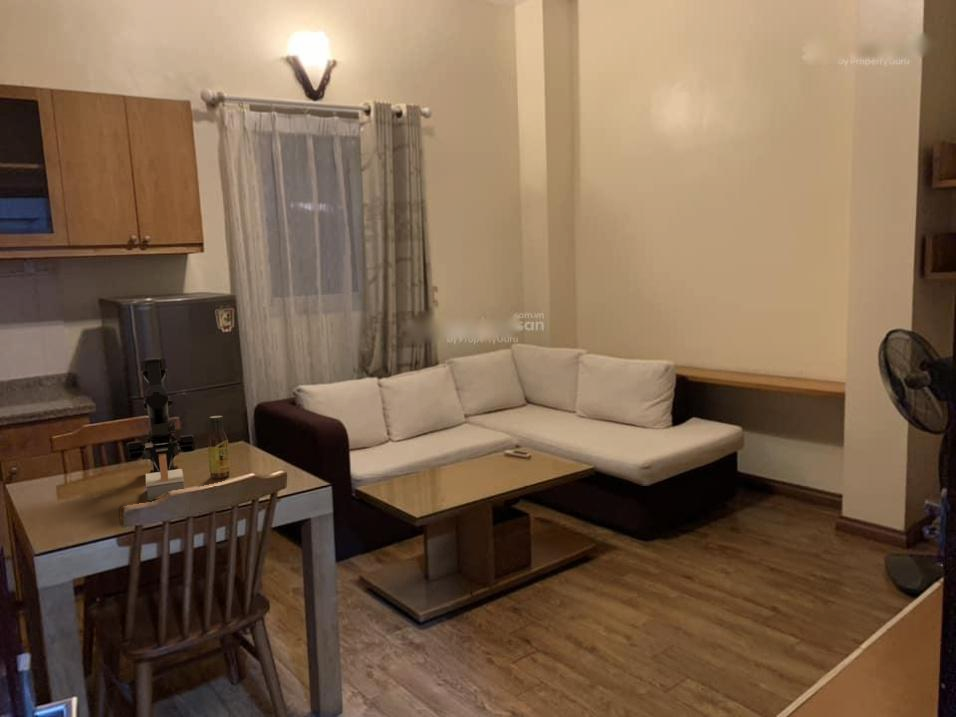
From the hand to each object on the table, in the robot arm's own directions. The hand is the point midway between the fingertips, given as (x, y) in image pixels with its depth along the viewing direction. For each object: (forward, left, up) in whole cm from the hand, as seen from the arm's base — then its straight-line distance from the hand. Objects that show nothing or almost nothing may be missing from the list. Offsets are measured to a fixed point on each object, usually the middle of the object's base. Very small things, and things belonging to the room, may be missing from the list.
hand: (163, 470), depth 214 cm
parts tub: (-4, -3, -8) cm, 9 cm away
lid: (-4, -3, -4) cm, 6 cm away
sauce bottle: (-21, +5, -8) cm, 23 cm away
